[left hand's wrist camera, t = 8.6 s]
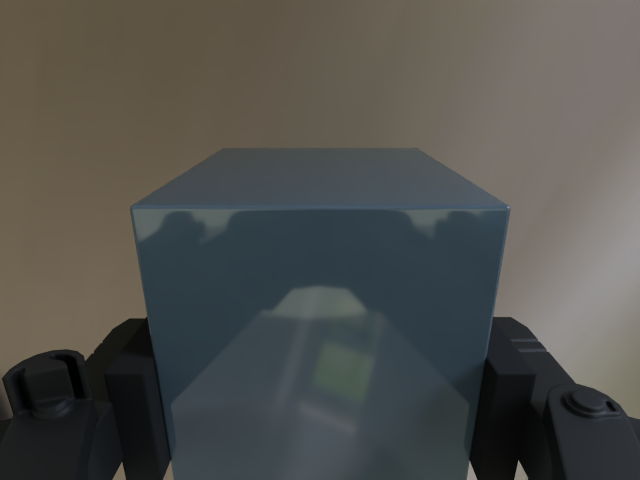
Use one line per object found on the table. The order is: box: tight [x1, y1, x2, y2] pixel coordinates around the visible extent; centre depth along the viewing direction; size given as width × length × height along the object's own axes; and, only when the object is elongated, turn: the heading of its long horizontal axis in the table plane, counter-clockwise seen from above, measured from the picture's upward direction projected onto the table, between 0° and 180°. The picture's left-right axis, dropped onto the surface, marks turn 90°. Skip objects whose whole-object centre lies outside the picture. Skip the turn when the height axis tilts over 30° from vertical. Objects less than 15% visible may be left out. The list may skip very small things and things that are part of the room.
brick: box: [130, 148, 510, 480], centre depth 12 cm, size 7×9×7 cm
